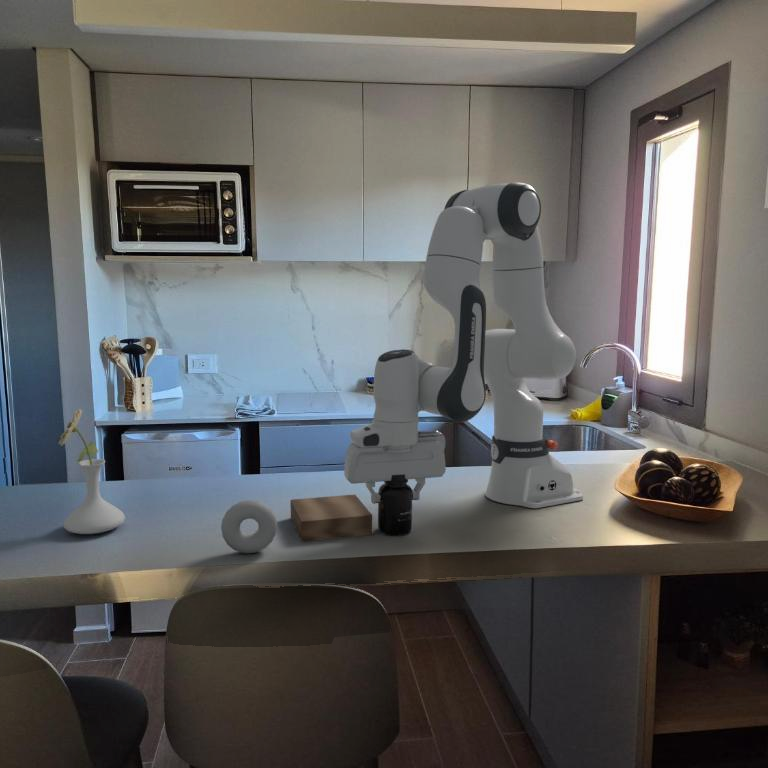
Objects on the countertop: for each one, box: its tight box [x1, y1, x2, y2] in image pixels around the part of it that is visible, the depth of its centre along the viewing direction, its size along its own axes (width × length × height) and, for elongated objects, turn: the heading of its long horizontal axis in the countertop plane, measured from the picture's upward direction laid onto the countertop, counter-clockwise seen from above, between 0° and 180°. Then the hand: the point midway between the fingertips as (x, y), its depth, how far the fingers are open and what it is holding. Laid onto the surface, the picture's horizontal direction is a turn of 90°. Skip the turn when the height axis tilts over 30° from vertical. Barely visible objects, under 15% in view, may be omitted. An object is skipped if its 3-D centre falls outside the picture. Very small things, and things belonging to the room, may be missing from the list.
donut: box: [220, 499, 278, 555], centre depth 122 cm, size 10×4×10 cm, turn 100°
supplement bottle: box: [377, 475, 413, 537], centre depth 134 cm, size 7×7×12 cm
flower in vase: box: [58, 408, 126, 535], centre depth 132 cm, size 13×11×25 cm
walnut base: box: [290, 494, 373, 542], centre depth 137 cm, size 14×14×4 cm
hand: (395, 501), depth 134 cm, fingers closed on supplement bottle, 7 cm apart
